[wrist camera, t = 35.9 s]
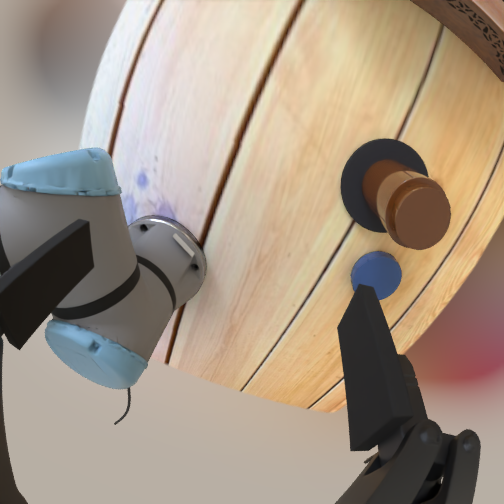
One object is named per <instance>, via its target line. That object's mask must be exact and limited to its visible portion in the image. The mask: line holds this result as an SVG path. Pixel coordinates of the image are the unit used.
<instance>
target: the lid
mask: <svg viewBox="0 0 504 504" xmlns="http://www.w3.org/2000/svg"><path fill="white" fill-rule="evenodd" d="M350 276H351V282H352V286H353V290H354V291H356V289H357V287H358V285H359V284H363V285H367V286H372V287H374V289H375V292H376V294H377V297H378V300H382V299H385V298H387V297H388V296H390V295H391V294H392V293H393V292H394V291H395V290H396V289H397V288H398V286H399V284H400V281H401V277H402V273H401V269H400V266H399V264H398V262H397V261H396V260H395V258H394V257H393V256H392V255H391V254H389V253H386V252H382V251H376V252H371V253H368V254H365V255H364V256H363V257H361V258H360V259H359V260H358V261H357V262H356V263H355V265H354V267H353V269H352V272H351V275H350Z"/></svg>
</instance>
